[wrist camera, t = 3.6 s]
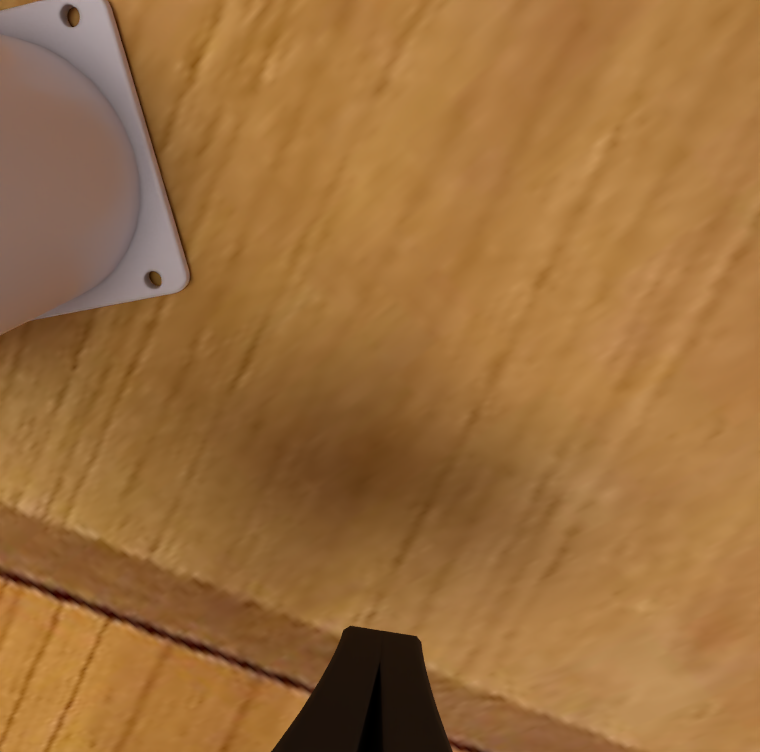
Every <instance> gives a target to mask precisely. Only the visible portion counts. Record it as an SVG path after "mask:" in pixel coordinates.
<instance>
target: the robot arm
mask: <svg viewBox="0 0 760 752" xmlns="http://www.w3.org/2000/svg"><path fill="white" fill-rule="evenodd" d="M73 7H76V8H77V10H78V12H79V13H80V21H79V23H78V25H76V26H75V27H72V26H71V25H70V24H69V22H68V18H67V14H68V12H69V9H71V8H73ZM151 271H155V272H157V273H158V274H159V275H160V276H161V278H162V284H161V286H156V285H154V284H153V283H152V282H151V281H150V279H149V274H150V272H151ZM189 279H190V273H189V269H188V265H187V262H186V258H185V255H184V252H183V248H182V245H181V242H180V238H179V235H178V231H177V228H176V225H175V221H174V218H173V214H172V211H171V208H170V204H169V201H168V198H167V194H166V191H165V187H164V184H163V181H162V177H161V174H160V170H159V167H158V164H157V160H156V157H155V154H154V150H153V147H152V143H151V140H150V137H149V133H148V130H147V126H146V123H145V120H144V116H143V113H142V110H141V106H140V103H139V99H138V96H137V93H136V89H135V86H134V82H133V79H132V76H131V72H130V69H129V65H128V62H127V59H126V55H125V52H124V49H123V45H122V42H121V38H120V35H119V32H118V28H117V25H116V21H115V18H114V15H113V11H112V8H111V6H110V4H109V2H108V1H107V0H41V1H37V2H33V3H29V4H25V5H21V6H17V7H13V8H9V9H5V10H1V11H0V335H2V334H4V333H6V332H8V331H10V330H12V329H14V328H16V327H18V326H20V325H22V324H24V323H26V322H28V321H31V320H36V319H41V318H47V317H52V316H57V315H62V314H68V313H73V312H78V311H83V310H89V309H94V308H99V307H105V306H110V305H115V304H120V303H126V302H131V301H136V300H141V299H147V298H152V297H157V296H162V295H168V294H173V293H176V292H179V291H181V290H182V289H184V288H185V287H186V286H187V285H188V283H189ZM271 752H453V751H452V749H451V746H450V743H449V741H448V738H447V735H446V733H445V730H444V727H443V724H442V721H441V718H440V716H439V713H438V710H437V707H436V704H435V700H434V697H433V694H432V690H431V687H430V683H429V680H428V676H427V672H426V667H425V663H424V658H423V652H422V644H421V641H420V640H419V639H418V638H417V636H412V635H406V634H399V633H393V632H387V631H380V630H374V629H367V628H361V627H355V626H349V627H348V628H346V629H344V630H343V633H342V636H341V639H340V642H339V644H338V646H337V649H336V651H335V653H334V655H333V657H332V659H331V661H330V663H329V665H328V667H327V669H326V670H325V672H324V674H323V676H322V678H321V679H320V681H319V683H318V684H317V686H316V687H315V689H314V691H313V692H312V694H311V696H310V697H309V699H308V700H307V702H306V704H305V705H304V707H303V708H302V710H301V711H300V713H299V714H298V716H297V717H296V718H295V720H294V721H293V723H292V724H291V725H290V727H289V728H288V730H287V731H286V732H285V734H284V735H283V736H282V738H281V739H280V741H279V742H278V743H277V745H276V746H275V747H274V749H273V750H272V751H271Z"/></svg>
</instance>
